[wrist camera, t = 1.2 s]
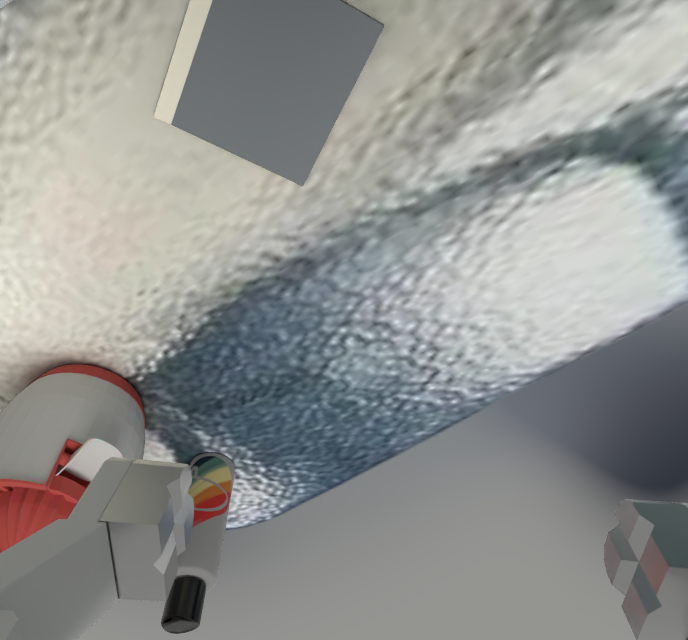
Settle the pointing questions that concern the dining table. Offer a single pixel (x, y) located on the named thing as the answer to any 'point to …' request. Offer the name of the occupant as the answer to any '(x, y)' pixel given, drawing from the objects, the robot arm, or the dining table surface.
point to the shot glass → (4, 2)
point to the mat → (266, 76)
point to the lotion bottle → (200, 542)
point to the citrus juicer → (62, 444)
